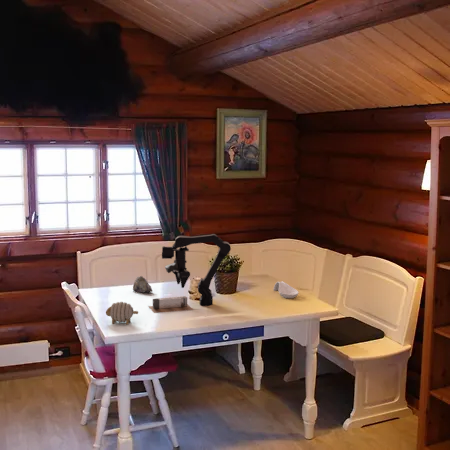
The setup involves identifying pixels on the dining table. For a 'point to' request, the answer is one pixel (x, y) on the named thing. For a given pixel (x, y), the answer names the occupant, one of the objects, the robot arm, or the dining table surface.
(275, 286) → the spoon rest
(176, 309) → the board
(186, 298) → the frame
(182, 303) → the tongs arm
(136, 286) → the mineral rock
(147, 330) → the dining table surface
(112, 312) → the toy sheep
